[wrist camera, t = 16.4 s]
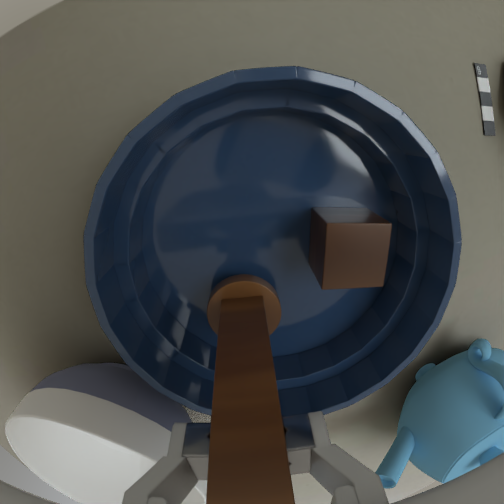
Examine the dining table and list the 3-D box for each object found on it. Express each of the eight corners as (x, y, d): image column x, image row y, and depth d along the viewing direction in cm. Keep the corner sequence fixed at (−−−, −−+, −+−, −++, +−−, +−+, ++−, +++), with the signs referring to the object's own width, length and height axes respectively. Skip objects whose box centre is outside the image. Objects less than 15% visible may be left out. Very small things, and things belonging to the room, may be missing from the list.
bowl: (200, 328, 22) (181, 435, 13) (224, 450, 27) (222, 530, 18) (27, 324, 21) (-31, 393, 12) (87, 438, 27) (63, 503, 18)
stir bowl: (102, 118, 16) (51, 113, 11) (405, 90, 16) (460, 79, 11) (162, 372, 23) (146, 428, 17) (397, 343, 23) (428, 391, 17)
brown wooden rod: (202, 277, 18) (155, 512, 5) (277, 269, 18) (341, 502, 5) (213, 338, 20) (197, 551, 7) (281, 331, 20) (325, 542, 7)
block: (311, 207, 18) (326, 222, 15) (367, 207, 18) (392, 223, 15) (308, 264, 19) (321, 290, 16) (361, 262, 19) (383, 287, 16)
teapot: (522, 295, 22) (593, 355, 11) (483, 404, 28) (524, 464, 17) (353, 348, 23) (408, 471, 12) (344, 455, 29) (368, 540, 17)
